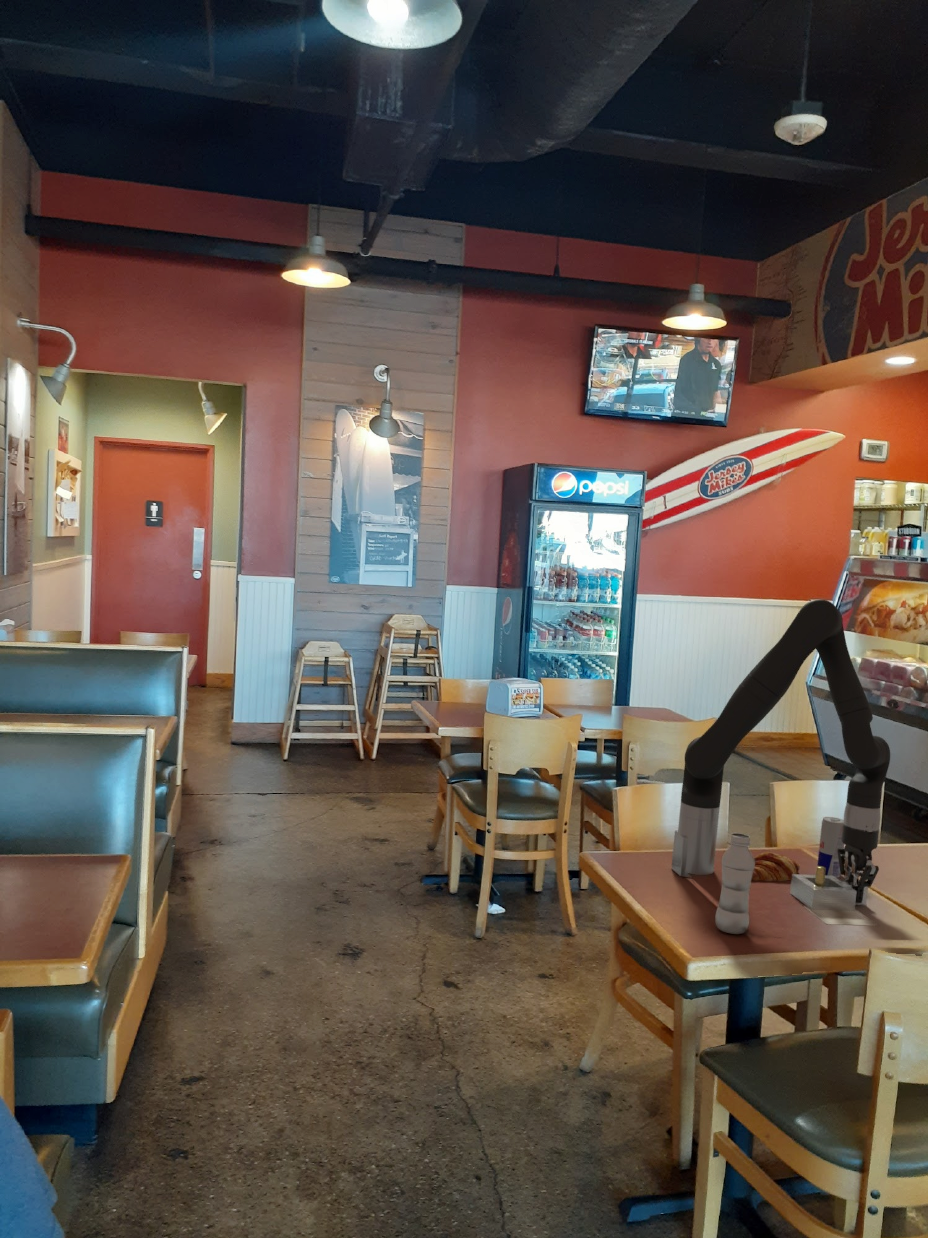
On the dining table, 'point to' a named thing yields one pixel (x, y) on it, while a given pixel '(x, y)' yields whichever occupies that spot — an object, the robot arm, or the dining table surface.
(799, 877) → the grey frame with handle
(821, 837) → the beverage can
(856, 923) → the board
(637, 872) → the dining table surface
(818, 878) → the post
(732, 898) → the plastic bottle
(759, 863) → the croissant
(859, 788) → the robot arm
